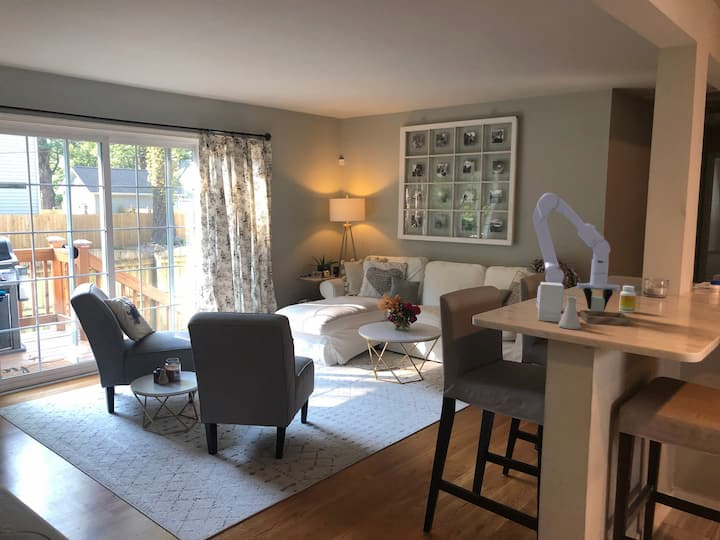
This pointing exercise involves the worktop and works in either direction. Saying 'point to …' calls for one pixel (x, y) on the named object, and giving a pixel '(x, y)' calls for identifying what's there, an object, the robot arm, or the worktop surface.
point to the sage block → (597, 304)
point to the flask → (570, 315)
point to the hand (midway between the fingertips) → (596, 309)
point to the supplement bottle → (627, 299)
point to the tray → (605, 317)
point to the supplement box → (550, 301)
